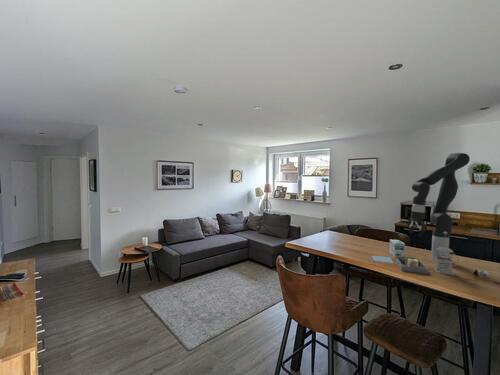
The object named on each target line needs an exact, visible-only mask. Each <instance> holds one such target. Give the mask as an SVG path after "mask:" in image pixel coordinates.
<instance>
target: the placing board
mask: <svg viewBox="0 0 500 375" xmlns="http://www.w3.org/2000/svg"><path fill="white" fill-rule="evenodd" d="M371 258H372V261H373V262H382V263H390V264H394V261H393V260H392V258H391V256H390V257H388V256H380V255H371Z"/></svg>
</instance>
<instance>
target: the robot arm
mask: <svg viewBox="0 0 500 375" xmlns="http://www.w3.org/2000/svg"><path fill="white" fill-rule="evenodd" d="M470 159H471V158H470V155H468V154H467V153H465V152H464V153H463V152H460V153H459V152H457V153H456V152H455V153H450V154H449V155H447V157H446V158H445V164H444V166H441V167H440V168H438V169H435V170H433V171H431V173H429V174H428V175H426V176H425V177H422V178H420V179H418V180H416V181H414V183H413V184H412V185H411V189H412V191H413V192H416V193H417V195H415V196H413V199H412V206H411V211H410V212H411V213H410V214H411V215H410V217H408V220H407V227H409V233H410V234H414V228H415V226H416V227H417V228H418V229H419V230H418V237H423V236H424V232H425V231H427V226H428V221H426V220H425V221H424V219H425V215H426V202H427V201H426V200H427V198H428V195H429V193H430V191H431V186H433V185H435V184H438V182H439V181H441V180H442V181H441V184H440V187H439V192H438V196H437V199H436V204H435V206H434V209H433V211H432V214H431V217H430V221H431V223H432V224H433V225H435V229H434V230H433V231H432V236H431V237H432V238H431V255H430V258H431V261H435V262H436V257H437V255H444V252H441V251H438V250H436V248H439V247H444V246H445V247H446V248H449V247H450V235H451V234H452V228H453V219H452V217H451V216H450V215H449V214H447V211H448V207H449V206H450V205H451V203H452V202H453V201H454V199H455V198H456V196H457V193H458V189H459V183H458V181H457V178H456V174H455V173H456V171H457V170H459V169H461V168H463V167H466V166H467V165H468V164H469V162H470ZM443 232H447V234H446V235H445V234H444V233H443ZM449 249H450V248H449ZM445 256H450V257H451V253H446V252H445ZM443 260H446V259H443ZM446 261H448V260H446Z"/></svg>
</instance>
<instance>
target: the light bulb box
mask: <svg viewBox="0 0 500 375" xmlns="http://www.w3.org/2000/svg"><path fill="white" fill-rule="evenodd" d="M405 249H406V243H404V242H403V241H401V240H400V239H389V250H388V251H389V254H390V255H391V256H393V257H394V258H405V255H406V254H405Z"/></svg>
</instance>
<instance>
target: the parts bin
mask: <svg viewBox="0 0 500 375" xmlns="http://www.w3.org/2000/svg"><path fill="white" fill-rule="evenodd" d="M416 260H417V261H418V267H412V266H406V265H405V258H404V257H395V263H396V265H397V266H398V267H399V269H400V271H403V272H409V273H418V274H424V275H426V274H427V275H429V268H428V267H427V266H426V265H425V264H424V263H423V262H422V261H421V260H418V259H416Z"/></svg>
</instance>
